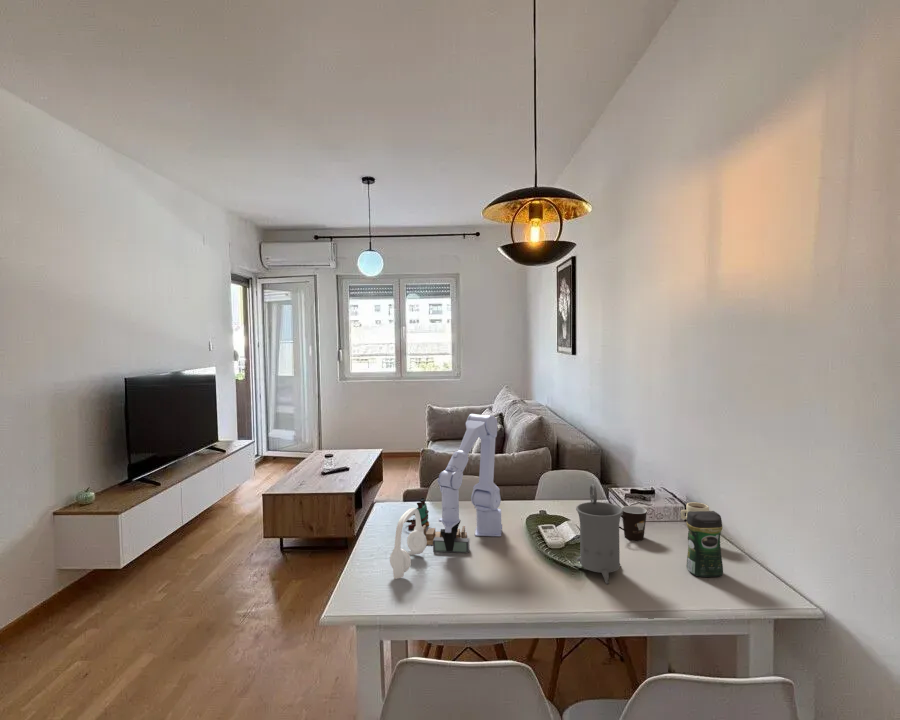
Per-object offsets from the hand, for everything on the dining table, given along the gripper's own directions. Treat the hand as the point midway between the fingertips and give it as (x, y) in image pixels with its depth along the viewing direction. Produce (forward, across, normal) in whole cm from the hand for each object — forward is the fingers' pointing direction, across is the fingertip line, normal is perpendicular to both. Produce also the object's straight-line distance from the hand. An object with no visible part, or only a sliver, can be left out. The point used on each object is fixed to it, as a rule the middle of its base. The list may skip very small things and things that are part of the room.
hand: (451, 546), depth 178 cm
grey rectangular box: (+2, -1, 0) cm, 2 cm away
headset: (+2, +13, -12) cm, 18 cm away
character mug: (+2, -14, +84) cm, 85 cm away
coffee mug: (+2, -17, +62) cm, 64 cm away
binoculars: (+2, -22, -16) cm, 27 cm away
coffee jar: (+2, +10, +78) cm, 79 cm away
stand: (+2, -10, -4) cm, 11 cm away
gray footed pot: (+2, +11, +47) cm, 48 cm away
